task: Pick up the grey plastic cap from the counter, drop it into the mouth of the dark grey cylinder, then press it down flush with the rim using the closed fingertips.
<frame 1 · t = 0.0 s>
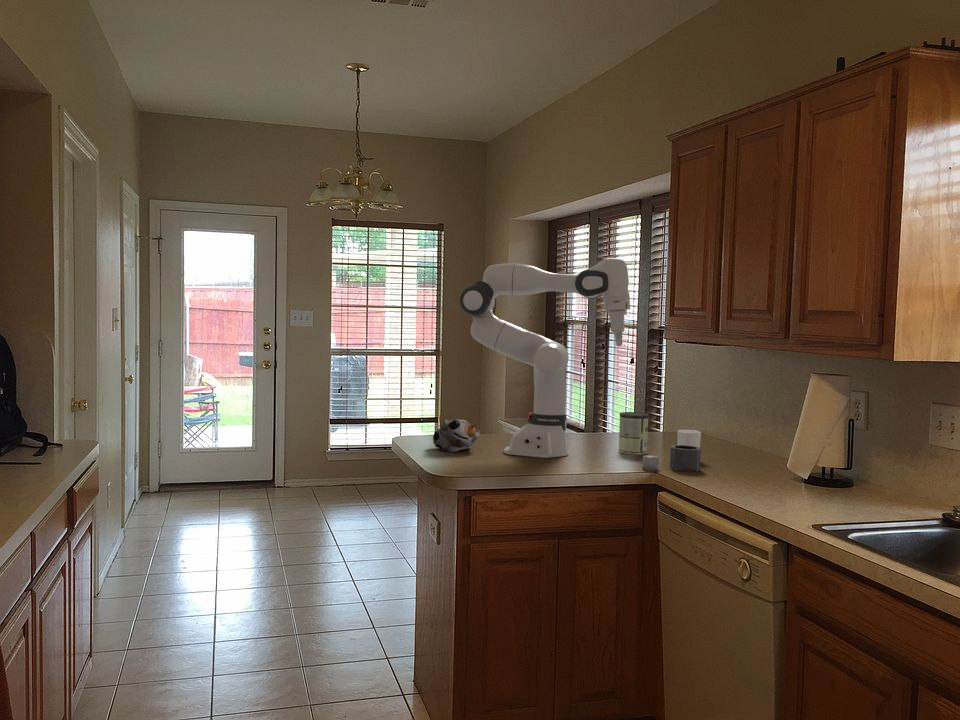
hand: (619, 345, 287), 39 cm above the worktop, tool pointing down, fingers open, 8 cm apart
cap: (650, 469, 271), on the worktop
coffee can: (632, 452, 302), on the worktop
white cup: (687, 460, 290), on the worktop
lucky cat figurine: (456, 450, 295), on the worktop
dark grey cylinder: (684, 468, 273), on the worktop
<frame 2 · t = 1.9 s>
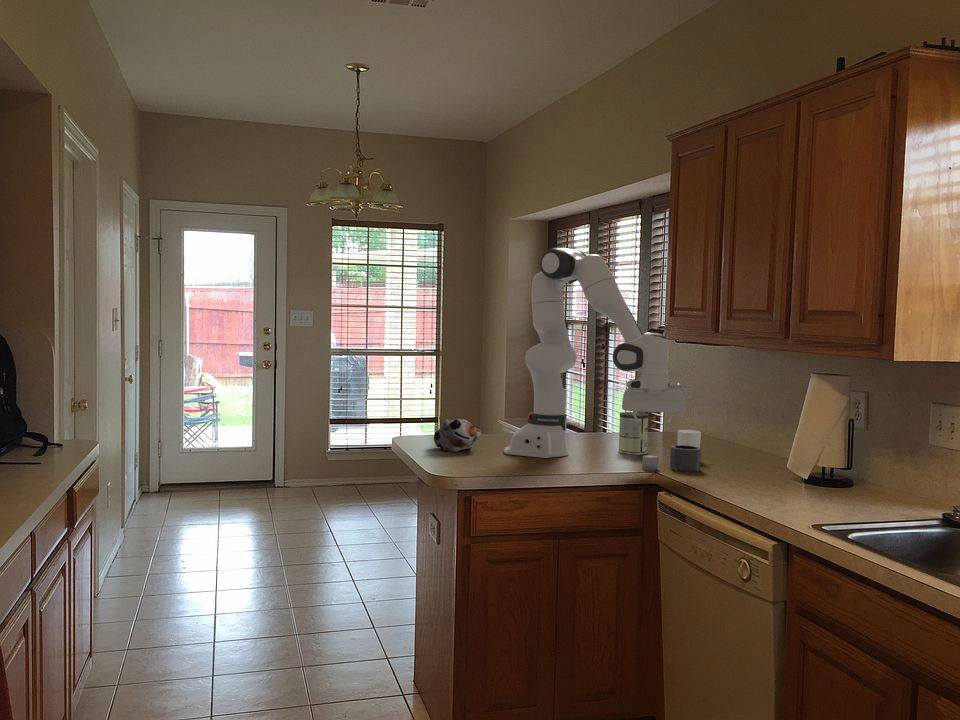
hand: (652, 425, 270), 14 cm above the worktop, tool pointing down, fingers open, 8 cm apart
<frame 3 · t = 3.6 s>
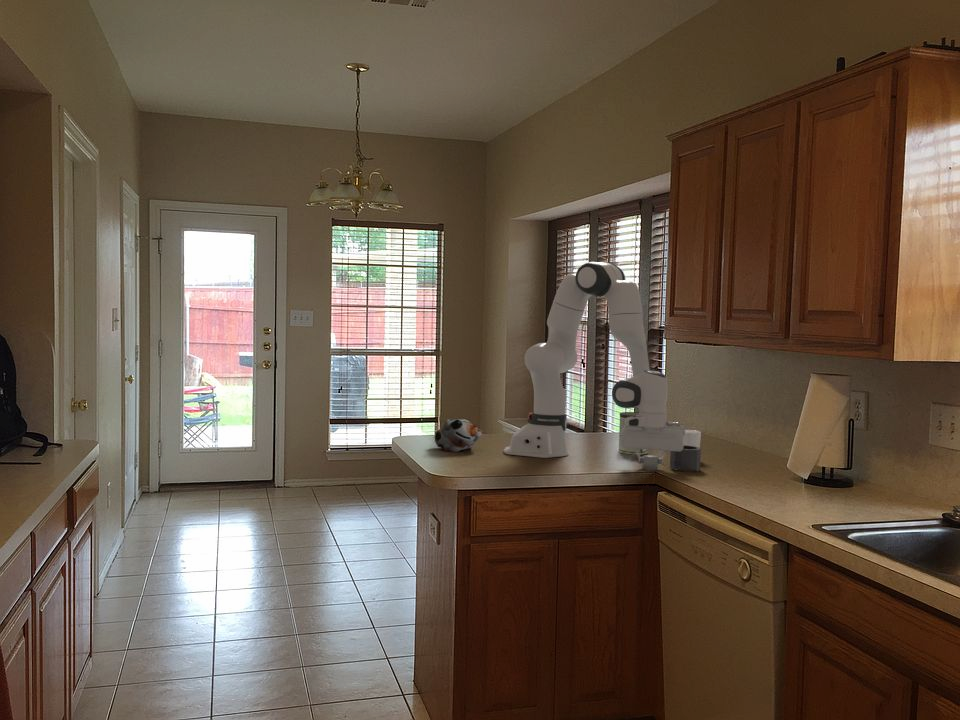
hand: (650, 463, 271), 2 cm above the worktop, tool pointing down, fingers closed on cap, 5 cm apart
cap: (650, 468, 271), on the worktop, touching gripper
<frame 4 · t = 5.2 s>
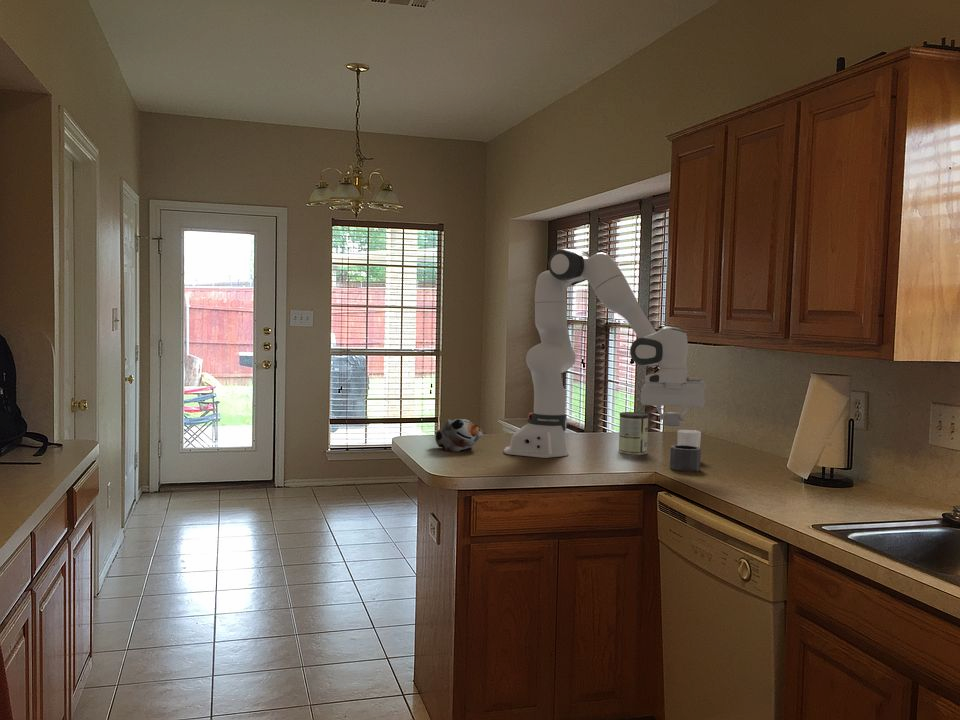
hand: (671, 419, 270), 16 cm above the worktop, tool pointing down, fingers closed on cap, 5 cm apart
cap: (671, 425, 270), point 14 cm above the worktop, touching gripper
when the fingers open (10 cm above the worktop, at t = 6.8 s): cap drops 4 cm, resting on dark grey cylinder.
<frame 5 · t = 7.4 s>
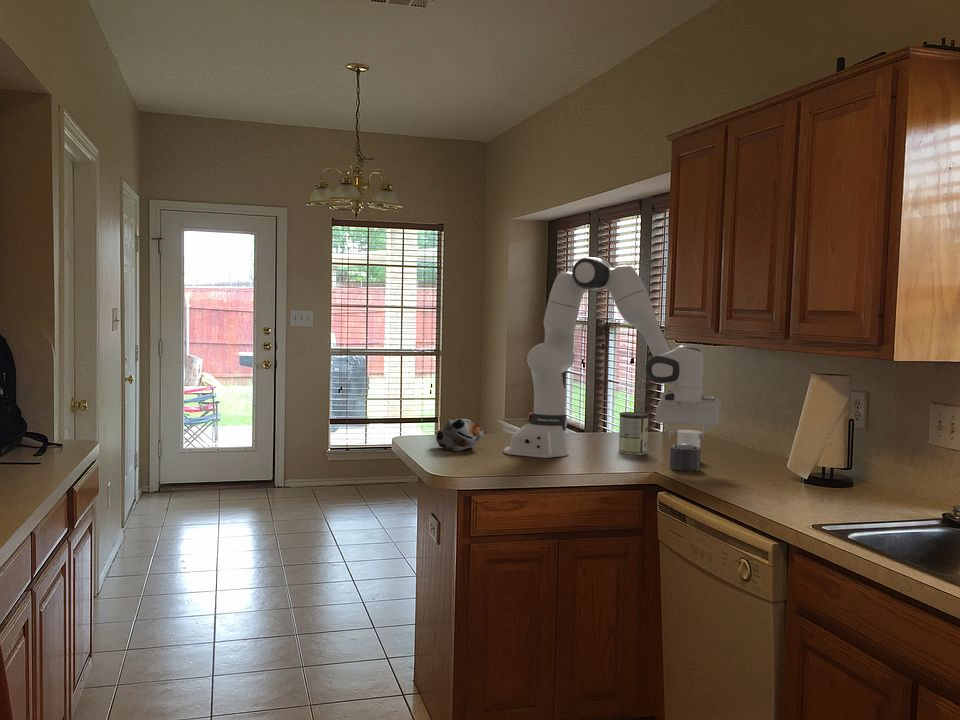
hand: (685, 438, 272), 10 cm above the worktop, tool pointing down, fingers open, 8 cm apart
cap: (684, 456, 273), point 4 cm above the worktop, touching dark grey cylinder
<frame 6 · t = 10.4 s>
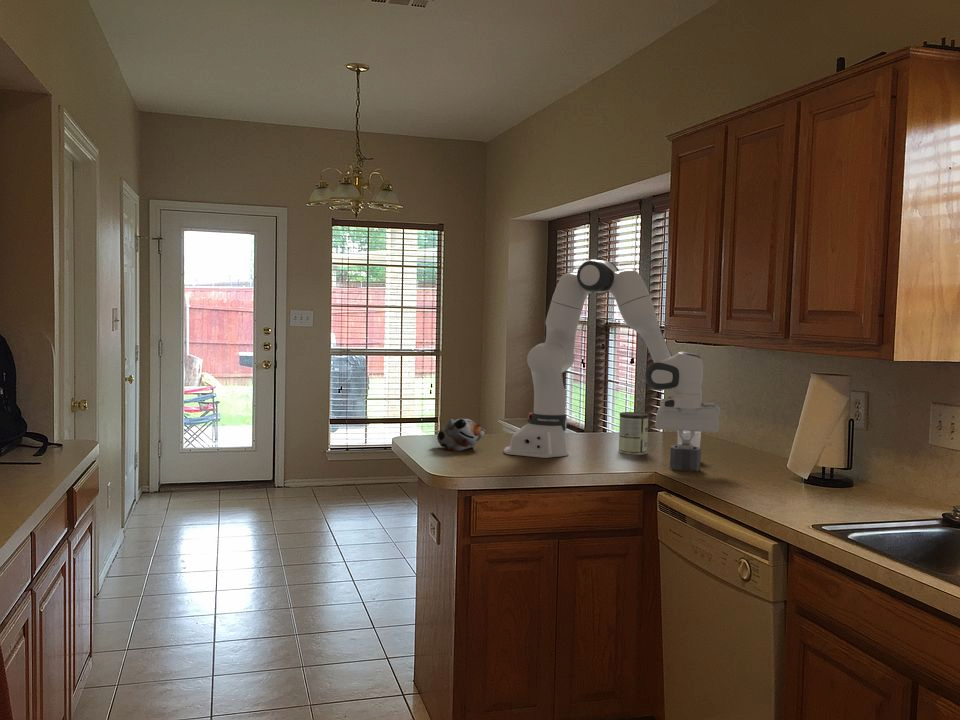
hand: (685, 444, 272), 8 cm above the worktop, tool pointing down, fingers closed, pressing on cap
cap: (684, 456, 273), point 4 cm above the worktop, touching dark grey cylinder, gripper
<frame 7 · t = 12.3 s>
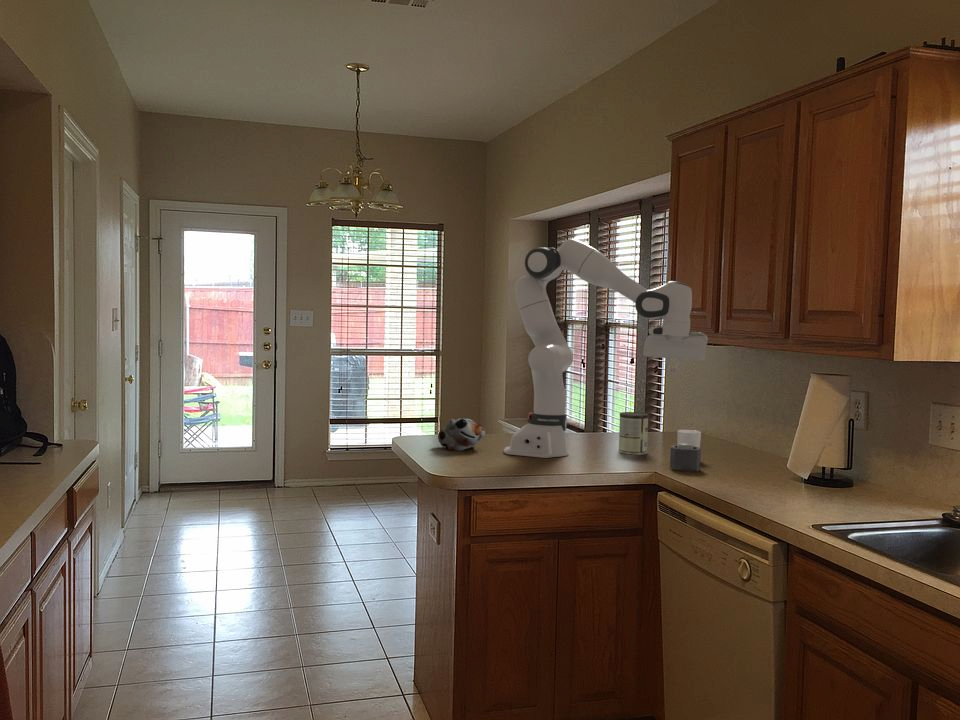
hand: (672, 372, 278), 31 cm above the worktop, tool pointing down, fingers closed
cap: (684, 456, 273), point 4 cm above the worktop, touching dark grey cylinder
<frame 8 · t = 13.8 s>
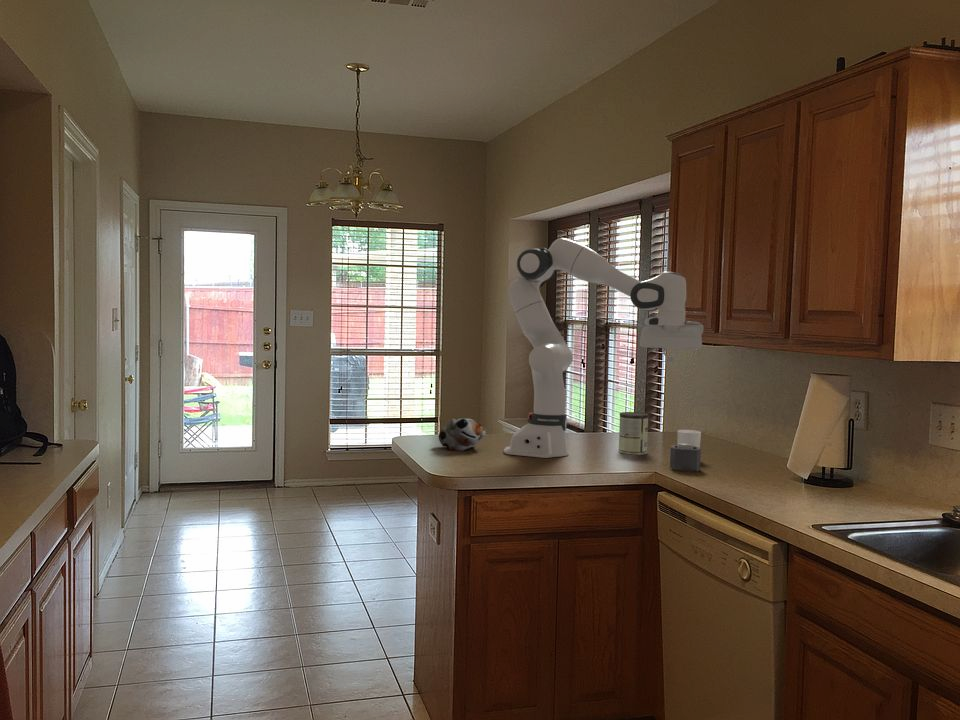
hand: (669, 362, 280), 34 cm above the worktop, tool pointing down, fingers closed
at the end: cap 0.1 cm off-centre on the dark grey cylinder, point 4.0 cm above the dark grey cylinder's base; cap tilted 0°; the gripper is holding nothing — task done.
